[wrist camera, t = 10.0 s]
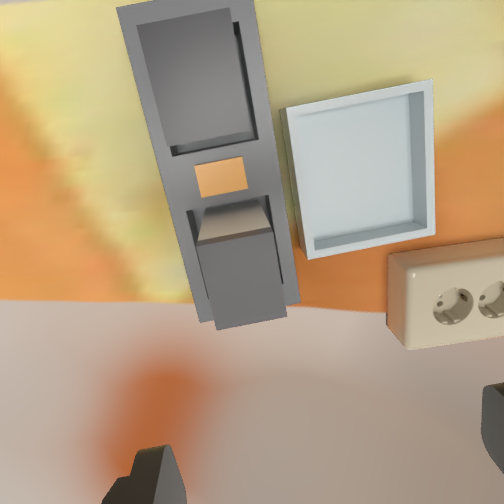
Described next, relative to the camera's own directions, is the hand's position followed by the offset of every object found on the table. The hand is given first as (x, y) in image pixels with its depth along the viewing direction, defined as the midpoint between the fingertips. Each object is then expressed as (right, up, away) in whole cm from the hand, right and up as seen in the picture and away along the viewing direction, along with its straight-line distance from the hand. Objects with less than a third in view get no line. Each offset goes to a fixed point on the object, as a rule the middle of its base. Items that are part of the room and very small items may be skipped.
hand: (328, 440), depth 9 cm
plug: (-3, +6, +19) cm, 20 cm away
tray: (+6, +11, +19) cm, 22 cm away
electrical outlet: (+19, +3, +23) cm, 30 cm away
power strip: (-4, +11, +18) cm, 21 cm away
